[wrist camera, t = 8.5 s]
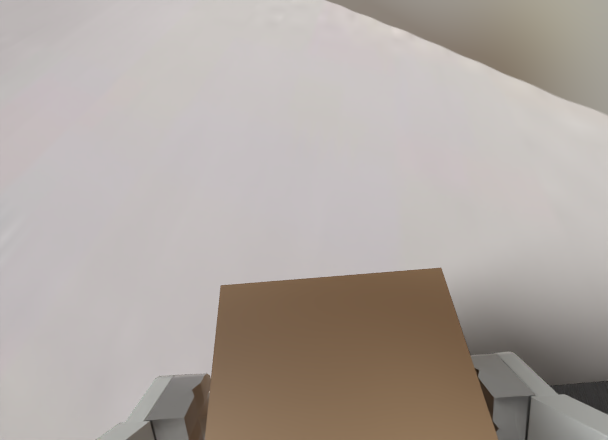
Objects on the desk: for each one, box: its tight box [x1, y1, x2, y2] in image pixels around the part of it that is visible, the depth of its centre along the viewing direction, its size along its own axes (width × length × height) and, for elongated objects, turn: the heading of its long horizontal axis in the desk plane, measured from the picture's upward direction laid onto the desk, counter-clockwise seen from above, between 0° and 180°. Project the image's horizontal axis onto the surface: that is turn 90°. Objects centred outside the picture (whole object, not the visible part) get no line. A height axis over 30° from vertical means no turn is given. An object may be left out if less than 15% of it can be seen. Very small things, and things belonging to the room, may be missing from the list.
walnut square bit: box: [205, 268, 498, 440], centre depth 9 cm, size 4×4×12 cm
